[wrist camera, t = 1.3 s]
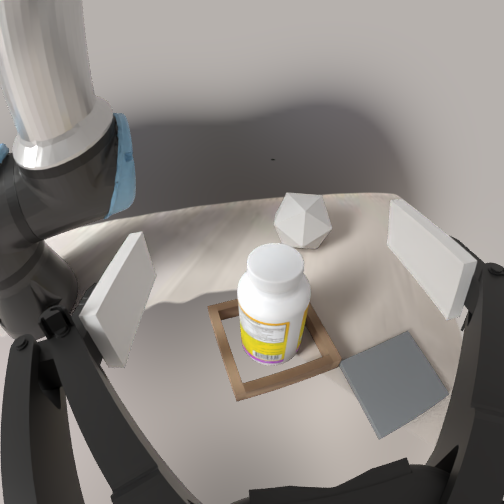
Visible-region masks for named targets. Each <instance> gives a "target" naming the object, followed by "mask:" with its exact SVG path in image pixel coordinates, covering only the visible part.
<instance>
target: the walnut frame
mask: <svg viewBox="0 0 504 504" xmlns="http://www.w3.org/2000/svg"><path fill="white" fill-rule="evenodd" d="M208 311H209V316H210V320H211V323H212V326H213V330H214V333H215V336H216V340H217V343H218V346H219V349H220V352H221V356H222V359H223V362H224V365H225V368H226V371H227V374H228V377H229V380H230V383H231V386H232V389H233V392H234V395H235V398H236V401H240V400H244V399H247V398H251V397H254V396H257V395H261V394H264V393H267V392H270V391H273V390H276V389H280V388H282V387H285V386H288V385H291V384H294V383H297V382H300V381H303V380H305V379H308V378H311V377H314V376H316V375H319V374H321V373H324V372H327V371H329V370H332V369H334V368H337V367H338V365H339V364H340V362H341V360H342V358H341V356H340V355H339V353H338V351H337V349H336V347H335V346H334V344H333V342H332V340H331V339H330V337H329V335H328V333H327V331H326V330H325V328H324V326H323V324H322V323H321V321H320V319H319V317H318V316H317V314H316V312H315V311H314V309H313V307H312V305H311V304H310V302H309V307H308V311H307V316H306V321H305V325H306V326H307V328H308V330H309V332H310V334H311V336H312V338H313V340H314V341H315V343H316V345H317V347H318V349H319V351H320V353H321V355H322V356H323V357H322V358H319V359H316V360H313V361H311V362H308V363H305V364H302V365H299V366H297V367H294V368H291V369H288V370H285V371H282V372H279V373H275V374H272V375H269V376H266V377H263V378H259V379H256V380H253V381H249V382H246V383H242V381H241V378H240V375H239V372H238V370H237V367H236V364H235V361H234V358H233V355H232V352H231V349H230V346H229V343H228V340H227V337H226V334H225V331H224V328H223V325H222V322H221V320H224V319H228V318H232V317H236V316H239V306H238V299H235V300H231V301H227V302H223V303H219V304H215V305H211V306H208Z"/></svg>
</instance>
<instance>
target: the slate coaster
mask: <svg viewBox="0 0 504 504" xmlns="http://www.w3.org/2000/svg"><path fill="white" fill-rule="evenodd" d="M339 366H340V368H341V370H342V372H343V373H344V375H345V377H346V379H347V381H348V383H349V384H350V386H351V388H352V390H353V392H354V394H355V396H356V397H357V399H358V401H359V403H360V405H361V407H362V409H363V410H364V412H365V414H366V416H367V418H368V420H369V422H370V424H371V426H372V427H373V429H374V431H375V433H376V435H377V437H378V439H381V438H383V437H385V436H387V435H388V434H390V433H392V432H393V431H395V430H397V429H398V428H400V427H402V426H403V425H405V424H407V423H408V422H410V421H411V420H413V419H414V418H416V417H418V416H419V415H421V414H422V413H424V412H425V411H427V410H428V409H429V408H431V407H432V406H434V405H435V404H437V403H438V402H439V401H441V400H442V399H444V398H445V397H446V396H447V395H449V393H448V391H447V390H446V388H445V387H444V385H443V383H442V382H441V380H440V379H439V377H438V375H437V374H436V372H435V371H434V369H433V368H432V366H431V365H430V363H429V362H428V360H427V358H426V357H425V355H424V354H423V352H422V351H421V349H420V348H419V346H418V345H417V344H416V342H415V341H414V339H413V338H412V336H411V335H410V333H409V332H408V331H406V332H404V333H402V334H400V335H398V336H396V337H394V338H392V339H390V340H387V341H385V342H383V343H381V344H379V345H377V346H375V347H372V348H370V349H368V350H366V351H363V352H361V353H359V354H356V355H354V356H352V357H349V358H347V359H345V360H342V361H341V362H340V364H339Z"/></svg>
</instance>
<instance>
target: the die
mask: <svg viewBox="0 0 504 504" xmlns="http://www.w3.org/2000/svg"><path fill="white" fill-rule="evenodd" d="M274 226H275V228H276V231H277V233H278V235H279V238H280V240H281V242H282V244H285V245H288V246H291V247H297V248H311V249H317V248H318V247H319V245H320V244H321V243H322V241H323V240H324V239H325V238H326V236H327V235H328V234H329V232H330V231H331V230H332V226H331V222H330V219H329V216H328V213H327V209H326V206H325V203H324V200H323V197H322V195H312V194H300V193H286V195H285V197H284V199H283V201H282V203H281V205H280V207H279V209H278V210H277V212H276V214H275V219H274Z"/></svg>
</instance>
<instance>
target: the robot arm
mask: <svg viewBox="0 0 504 504" xmlns="http://www.w3.org/2000/svg"><path fill="white" fill-rule="evenodd" d="M0 86H1V89H2V92H3V95H4V98H5V100H6V103H7V106H8V108H9V111H10V114H11V116H12V119H13V121H14V124H15V126H16V129H17V131H18V134H17V136H16V138H15V141H14V144H13V150H12V153H9V148H7V147H6V145H5V144H0V325H1V327H2V328H3V329H4V330H5V331H6V332H7V333H8V335H9V336H11V337H12V338H13V339H15V341H14V342H13V344H12V345H11V348H10V353H9V358H8V365H7V371H6V377H5V386H4V394H3V404H2V420H1V474H2V487H3V497H4V504H85V503H84V500H83V496H82V492H81V488H80V484H79V479H78V476H77V471H76V465H75V460H74V455H73V449H72V444H71V437H70V430H69V422H68V414H67V404H66V396H67V399H68V401H69V404H70V407H71V409H72V411H73V414H74V416H75V418H76V421H77V423H78V425H79V428H80V430H81V432H82V434H83V436H84V438H85V441H86V443H87V445H88V447H89V448H90V451H91V453H92V455H93V457H94V459H95V460H96V462H97V464H98V466H99V468H100V469H101V471H102V473H103V475H104V477H105V478H106V480H107V482H108V484H109V485H110V487H111V489H112V491H113V494H112V495H111V500H112V502H113V504H202V503H201V502H200V501H199V500H198V499H197V498H196V497H195V496H193V494H191V492H190V491H189V490H188V489H187V488H186V487H185V486H184V485H183V483H182V482H181V481H180V480H179V479H178V478H177V476H176V475H175V474H174V473H173V472H172V470H171V469H170V468H169V467H168V466H167V465H166V463H165V462H164V461H163V459H162V458H161V457H160V455H159V454H158V453H157V452H156V450H155V449H154V448H153V447H152V445H151V444H150V442H149V441H148V439H147V438H146V437H145V435H144V434H143V433H142V431H141V430H140V428H139V427H138V425H137V424H136V422H135V421H134V420H133V418H132V416H131V415H130V413H129V412H128V411H127V409H126V407H125V406H124V404H123V403H122V401H121V399H120V398H119V396H118V395H117V393H116V391H115V390H114V388H113V386H112V385H111V383H110V381H109V379H108V378H107V376H106V374H105V372H104V371H103V369H102V368H101V366H100V364H101V361H102V358H103V359H104V360H105V362H106V364H107V365H108V367H112V368H114V367H116V368H119V367H120V368H125V366H126V363H127V359H128V356H129V353H130V350H131V347H132V344H133V341H134V337H135V335H136V332H137V329H138V326H139V323H140V320H141V317H142V314H143V311H144V309H145V306H146V303H147V300H148V297H149V295H150V292H151V289H152V287H153V284H154V281H155V279H156V273H155V270H154V267H153V263H152V260H151V257H150V254H149V251H148V248H147V244H146V241H145V238H144V234H143V232H137V233H131V234H129V235H128V237H127V238H126V240H125V241H124V243H123V244H122V246H121V247H120V249H119V250H118V252H117V253H116V255H115V257H114V258H113V260H112V261H111V263H110V264H109V266H108V267H107V269H106V271H105V272H104V274H103V275H102V277H101V279H100V280H99V282H98V283H95V284H93V285H92V286H91V287H90V288H89V289H88V290H87V291H86V293H85V294H84V296H83V299H81V301H80V302H79V305H78V306H77V308H76V309H75V311H74V313H73V314H72V316H70V314H69V313H70V311H71V309H72V307H73V305H74V303H75V300H76V297H77V292H78V284H77V280H76V277H75V275H74V273H73V271H72V270H71V268H70V266H69V265H68V263H67V262H66V261H64V260H63V259H62V258H61V257H60V256H59V255H58V254H57V253H56V252H55V251H53V250H52V249H51V248H50V247H49V246H48V245H47V244H46V243H45V241H44V240H45V239H47V238H50V237H53V236H55V235H58V234H61V233H64V232H66V231H69V230H72V229H75V228H78V227H81V226H84V225H87V224H89V223H92V222H95V221H99V220H101V219H107V218H108V217H110V215H112V214H115V213H118V212H120V211H123V210H125V209H127V208H128V207H130V206H131V204H132V203H133V201H134V198H135V190H136V180H135V167H134V160H133V157H132V154H133V152H132V141H131V135H130V129H129V125H128V121H127V118H126V116H125V115H124V114H122V113H119V114H117V113H113V110H112V107H111V105H110V104H109V102H108V101H107V100H105V99H103V98H101V97H98V96H96V95H95V94H94V88H93V83H92V77H91V71H90V65H89V59H88V52H87V44H86V36H85V27H84V18H83V7H82V0H0ZM387 246H388V247H389V248H390V250H391V251H392V252H393V253H394V254H395V255H396V257H397V258H398V259H399V260H400V261H401V262H402V264H403V265H404V266H405V267H406V268H407V270H408V271H409V272H410V273H411V275H412V276H413V277H414V278H415V280H416V281H417V282H418V283H419V285H420V286H421V287H422V288H423V290H424V291H425V292H426V293H427V295H428V296H429V297H430V299H431V300H432V301H433V302H434V304H435V305H436V306H437V308H438V309H439V310H440V312H441V313H442V314H443V316H444V317H445V319H446V320H450V319H453V318H456V317H459V316H460V314H461V312H462V309H463V306H464V305H465V306H466V308H467V309H468V314H467V316H466V318H465V321H464V324H463V326H462V329H461V331H463V330H464V335H463V342H462V348H461V354H460V359H459V364H458V369H457V374H456V378H455V383H454V387H453V391H452V395H451V399H450V402H449V406H448V410H447V413H446V416H445V420H444V423H443V426H442V429H441V432H440V435H439V438H438V441H437V444H436V447H435V449H434V451H433V453H432V455H431V456H430V458H429V460H428V461H427V463H426V465H409V463H408V460H407V458H404V459H401V460H398V461H395V462H392V463H389V464H386V465H382V466H379V467H376V468H372V469H370V470H368V471H366V472H365V473H363V474H361V475H359V476H357V477H355V478H353V479H351V480H349V481H347V482H345V483H343V484H341V485H339V486H336V487H333V488H318V487H297V486H285V487H276V488H267V489H254V490H249V497H247V498H244V499H241V500H238V501H236V502H233V503H232V504H504V501H503V496H504V268H503V267H502V266H500V265H498V264H495V263H486V264H485V263H484V262H483V261H482V260H480V259H479V258H478V257H477V256H476V255H475V254H474V253H473V252H471V251H470V250H469V249H468V248H467V247H465V246H464V244H462V243H461V242H460V241H459V240H457V239H455V238H453V237H451V236H449V235H447V234H446V233H445V232H444V231H443V230H441V229H440V228H439V227H437V226H436V225H435V224H434V223H433V222H431V221H430V220H429V219H428V218H426V217H425V216H424V215H423V214H421V213H420V212H419V211H418V210H416V209H415V208H414V207H412V206H411V205H410V204H408V203H407V202H406V201H404V200H403V199H395V200H390V213H389V226H388V238H387ZM464 328H465V329H464ZM44 336H46V337H47V340H43V341H40V342H37V341H36V340H37V339H40V338H42V337H44Z"/></svg>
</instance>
